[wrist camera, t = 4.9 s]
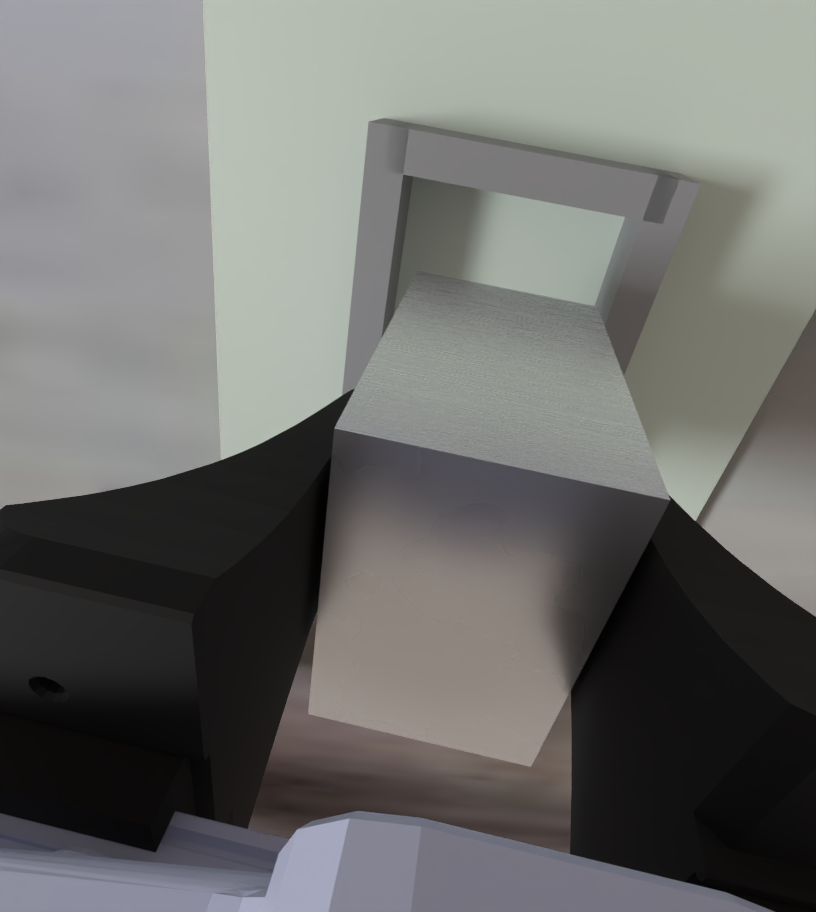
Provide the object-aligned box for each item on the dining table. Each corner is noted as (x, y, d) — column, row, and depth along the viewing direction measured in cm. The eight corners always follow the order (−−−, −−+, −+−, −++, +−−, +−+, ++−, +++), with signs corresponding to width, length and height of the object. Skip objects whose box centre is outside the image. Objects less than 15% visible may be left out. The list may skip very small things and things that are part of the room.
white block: (596, 306, 12) (670, 500, 7) (524, 515, 16) (530, 766, 10) (417, 270, 13) (333, 428, 7) (383, 485, 16) (308, 713, 10)
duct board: (656, 574, 23) (671, 623, 21) (227, 480, 24) (199, 517, 22) (966, 20, 13) (1052, 6, 11) (207, -110, 14) (153, -146, 12)
